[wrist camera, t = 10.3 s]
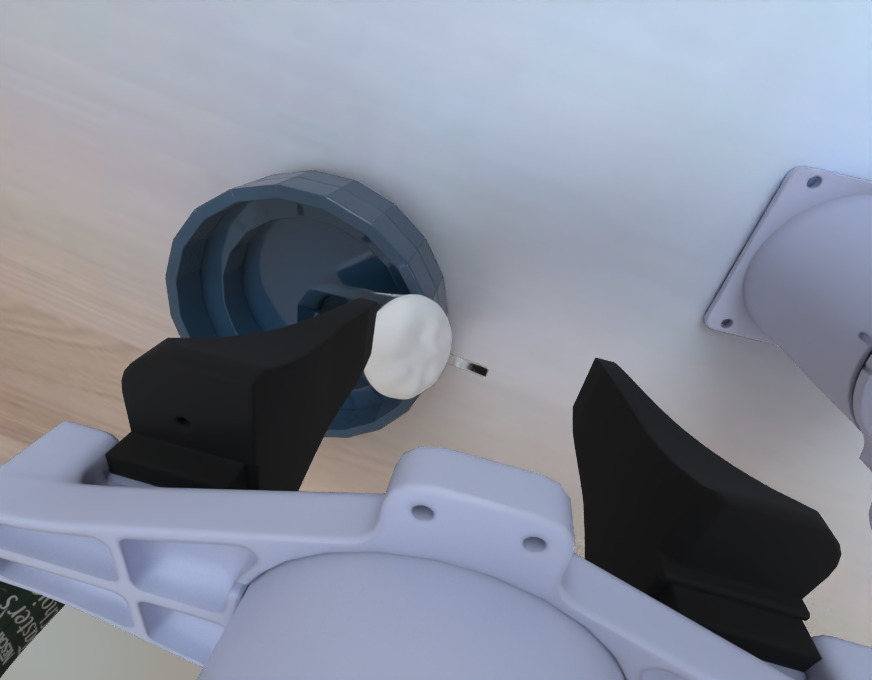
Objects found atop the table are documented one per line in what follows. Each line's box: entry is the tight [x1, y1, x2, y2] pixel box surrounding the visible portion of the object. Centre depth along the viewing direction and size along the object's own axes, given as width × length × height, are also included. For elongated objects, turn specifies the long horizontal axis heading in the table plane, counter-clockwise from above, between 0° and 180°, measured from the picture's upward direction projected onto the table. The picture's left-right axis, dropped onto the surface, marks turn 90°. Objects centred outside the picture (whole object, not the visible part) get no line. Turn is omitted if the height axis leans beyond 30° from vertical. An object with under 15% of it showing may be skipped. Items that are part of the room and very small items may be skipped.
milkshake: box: [297, 283, 489, 399], centre depth 21 cm, size 4×5×10 cm
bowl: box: [166, 171, 447, 438], centre depth 24 cm, size 14×14×4 cm
